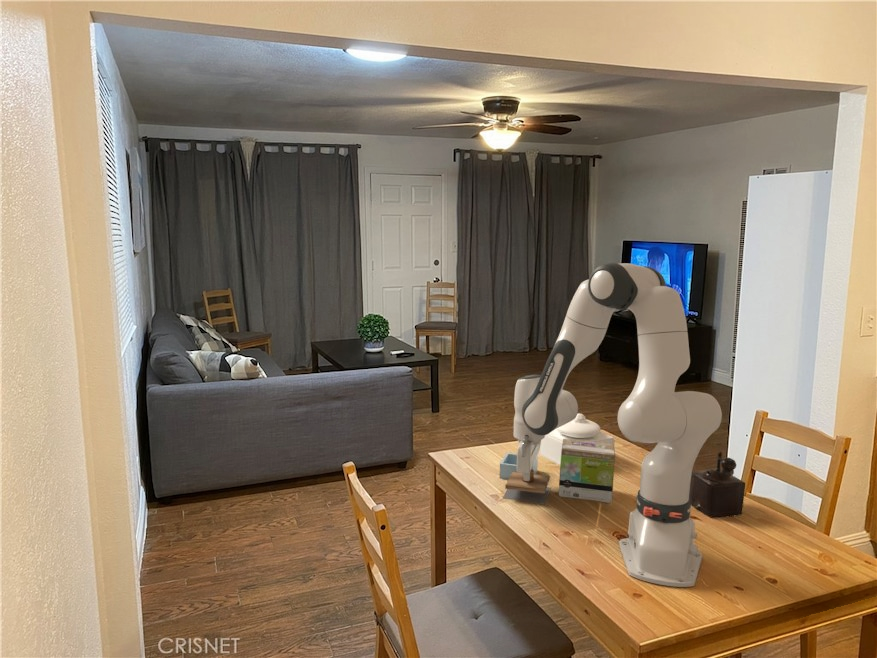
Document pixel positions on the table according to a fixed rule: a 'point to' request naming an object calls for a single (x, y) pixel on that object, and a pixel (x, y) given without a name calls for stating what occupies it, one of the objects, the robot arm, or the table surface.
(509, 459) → the dish
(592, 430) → the white lidded container
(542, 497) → the mat
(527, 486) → the lid
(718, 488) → the coffee grinder
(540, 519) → the table surface
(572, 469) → the tea box
